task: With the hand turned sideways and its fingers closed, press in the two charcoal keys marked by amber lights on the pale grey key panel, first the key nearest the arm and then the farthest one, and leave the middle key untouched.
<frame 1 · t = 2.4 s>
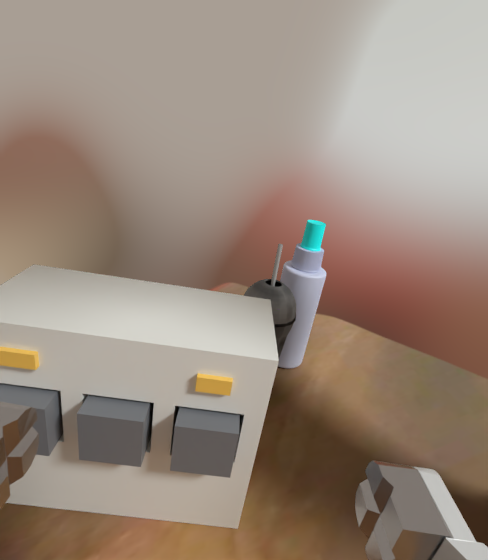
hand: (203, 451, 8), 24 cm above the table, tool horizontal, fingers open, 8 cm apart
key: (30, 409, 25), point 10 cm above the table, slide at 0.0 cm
beverage cup: (251, 384, 47), on the table
spray bottle: (282, 358, 54), on the table
key middle: (119, 420, 25), point 10 cm above the table, slide at 0.0 cm
key panel: (134, 462, 34), on the table
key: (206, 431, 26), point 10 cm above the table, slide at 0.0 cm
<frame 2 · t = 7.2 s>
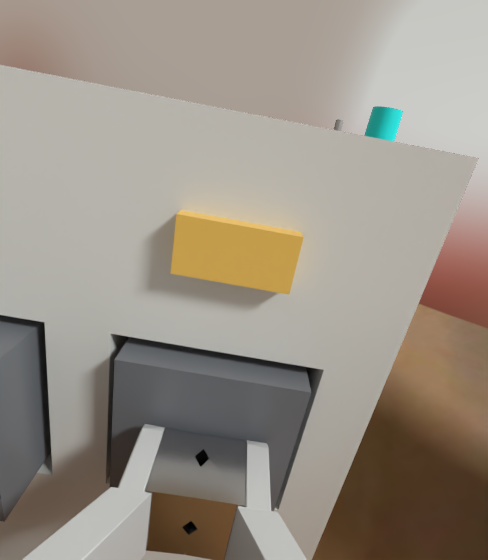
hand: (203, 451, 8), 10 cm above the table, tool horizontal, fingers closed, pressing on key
spray bottle: (320, 332, 37), on the table
key panel: (63, 487, 17), on the table
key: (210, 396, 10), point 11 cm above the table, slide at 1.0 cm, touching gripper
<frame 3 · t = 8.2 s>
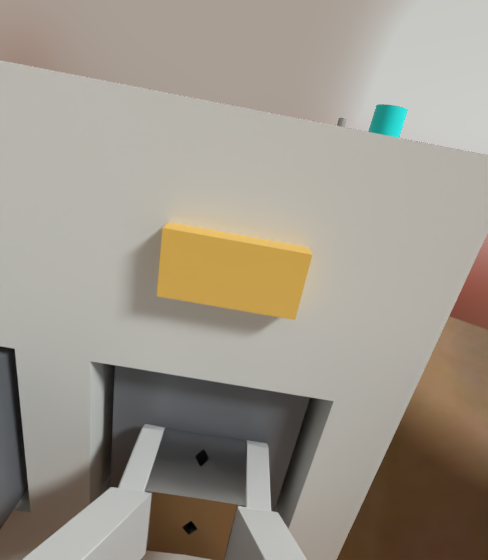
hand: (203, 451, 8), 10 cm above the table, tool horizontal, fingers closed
spray bottle: (321, 336, 36), on the table
key panel: (52, 507, 16), on the table
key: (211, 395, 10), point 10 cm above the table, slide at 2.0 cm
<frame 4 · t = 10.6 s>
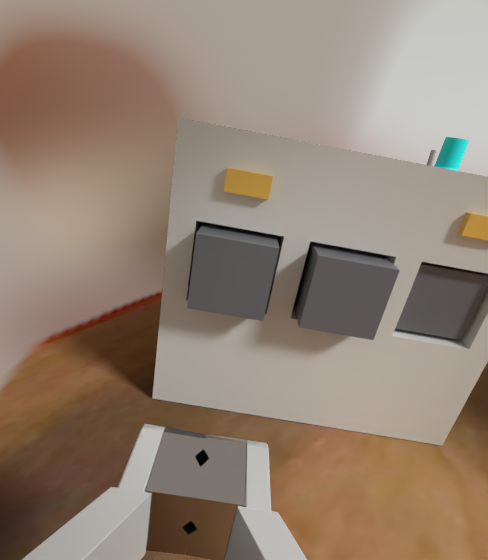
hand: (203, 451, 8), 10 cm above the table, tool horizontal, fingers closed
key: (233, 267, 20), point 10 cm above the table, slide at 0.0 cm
spray bottle: (393, 304, 49), on the table
key middle: (339, 286, 20), point 11 cm above the table, slide at 0.0 cm
key panel: (292, 377, 29), on the table
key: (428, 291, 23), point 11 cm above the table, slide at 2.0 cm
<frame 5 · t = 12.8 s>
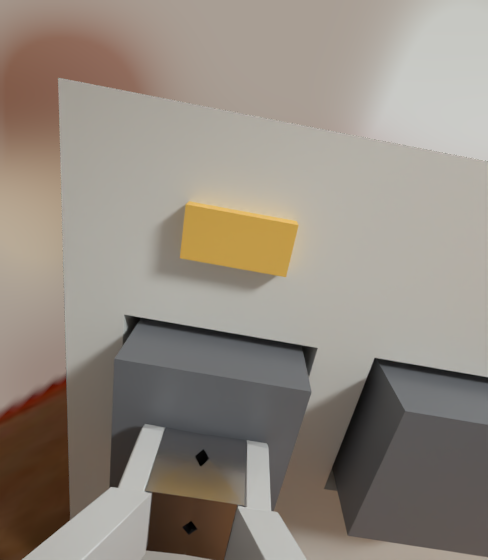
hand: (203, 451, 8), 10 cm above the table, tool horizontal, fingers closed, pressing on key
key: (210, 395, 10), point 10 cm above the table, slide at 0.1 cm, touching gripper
key middle: (425, 433, 10), point 10 cm above the table, slide at 0.0 cm
key panel: (313, 509, 18), on the table
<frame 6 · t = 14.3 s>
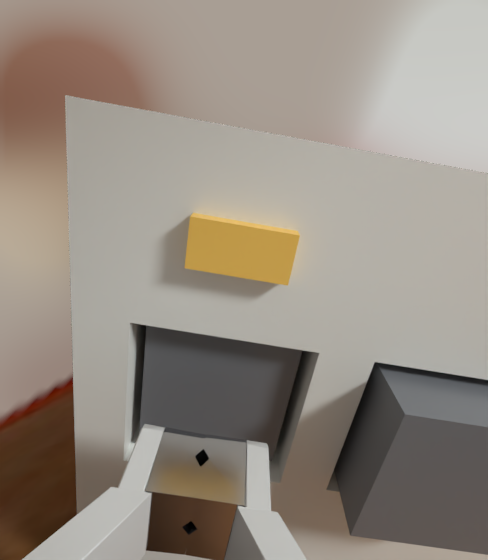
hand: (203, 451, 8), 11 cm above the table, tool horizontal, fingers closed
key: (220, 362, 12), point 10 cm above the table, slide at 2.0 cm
key middle: (425, 435, 10), point 10 cm above the table, slide at 0.0 cm
key panel: (315, 508, 19), on the table
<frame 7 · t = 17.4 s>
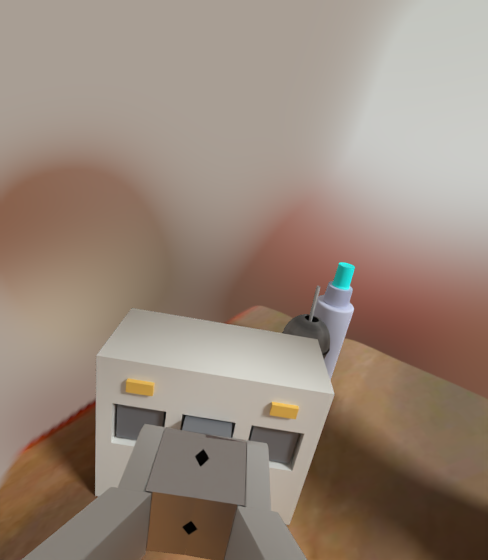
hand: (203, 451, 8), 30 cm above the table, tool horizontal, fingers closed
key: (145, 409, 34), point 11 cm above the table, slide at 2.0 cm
beverage cup: (287, 403, 54), on the table
spray bottle: (311, 379, 61), on the table
key middle: (206, 435, 33), point 10 cm above the table, slide at 0.0 cm
key panel: (200, 468, 41), on the table
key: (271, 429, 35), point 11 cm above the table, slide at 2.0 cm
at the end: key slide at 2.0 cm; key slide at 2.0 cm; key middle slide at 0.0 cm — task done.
